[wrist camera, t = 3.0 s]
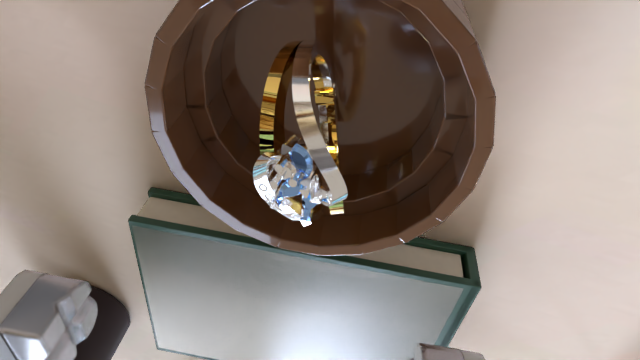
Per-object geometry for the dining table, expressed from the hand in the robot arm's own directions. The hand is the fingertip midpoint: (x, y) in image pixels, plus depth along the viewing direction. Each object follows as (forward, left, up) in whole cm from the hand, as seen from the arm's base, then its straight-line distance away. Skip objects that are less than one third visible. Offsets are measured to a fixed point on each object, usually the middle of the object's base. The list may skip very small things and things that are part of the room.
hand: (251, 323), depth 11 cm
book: (0, +16, -13) cm, 21 cm away
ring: (0, 0, -13) cm, 13 cm away
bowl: (0, 0, -13) cm, 13 cm away
